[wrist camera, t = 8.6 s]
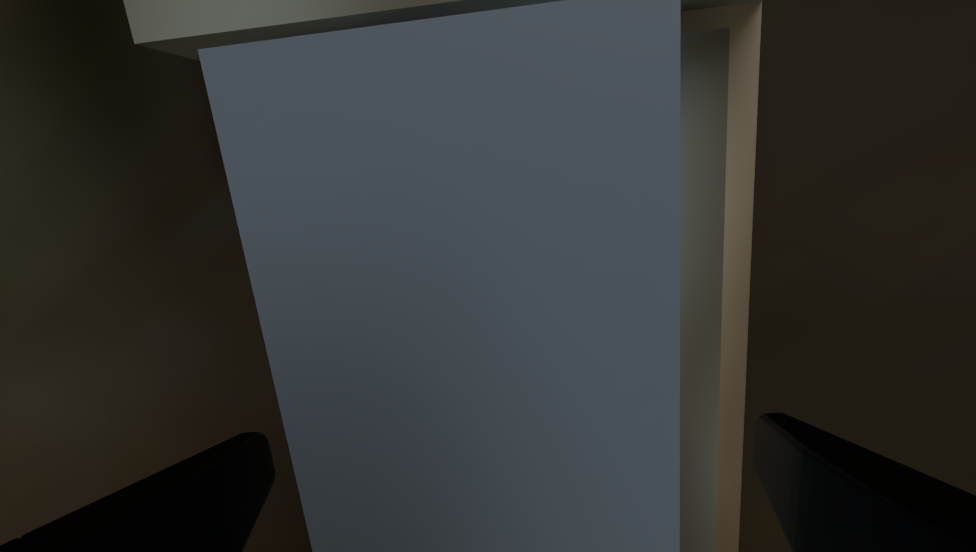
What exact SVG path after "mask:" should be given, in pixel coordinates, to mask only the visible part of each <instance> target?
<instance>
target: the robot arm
mask: <svg viewBox="0 0 976 552" xmlns="http://www.w3.org/2000/svg"><path fill="white" fill-rule="evenodd" d="M753 463H754V467H755V470H756V472H757V475H758V477H759V479H760V481H761V483H762V486H763V488H764V490H765V492H766V494H767V497H768V499H769V501H770V503H771V506H772V508H773V510H774V512H775V514H776V517H777V519H778V521H779V523H780V525H781V528H782V530H783V532H784V534H785V537H786V539H787V541H788V543H789V545H790V547H791V549H792V551H793V552H976V496H975V495H973V494H971V493H968V492H966V491H964V490H961V489H959V488H957V487H954V486H952V485H950V484H947V483H945V482H943V481H940V480H938V479H936V478H933V477H931V476H929V475H926V474H924V473H922V472H919V471H917V470H915V469H912V468H910V467H908V466H905V465H903V464H901V463H898V462H896V461H894V460H891V459H889V458H887V457H884V456H882V455H880V454H877V453H875V452H873V451H870V450H868V449H866V448H863V447H861V446H859V445H856V444H854V443H852V442H849V441H847V440H845V439H842V438H840V437H838V436H835V435H833V434H831V433H828V432H826V431H824V430H821V429H819V428H816V427H814V426H812V425H809V424H807V423H805V422H802V421H800V420H798V419H795V418H793V417H791V416H788V415H786V414H783V413H763V414H759V415H757V416H756V418H755V421H754V437H753ZM274 479H275V466H274V461H273V457H272V453H271V449H270V445H269V440H268V437H267V436H266V435H265V434H264V433H262V432H248V433H241V434H239V435H237V436H235V437H233V438H230V439H228V440H226V441H224V442H222V443H220V444H217V445H215V446H213V447H211V448H209V449H207V450H205V451H202V452H200V453H198V454H196V455H194V456H192V457H190V458H187V459H185V460H183V461H181V462H179V463H177V464H175V465H172V466H170V467H168V468H166V469H164V470H162V471H160V472H157V473H155V474H153V475H151V476H149V477H147V478H144V479H142V480H140V481H138V482H136V483H134V484H132V485H129V486H127V487H125V488H123V489H121V490H119V491H117V492H114V493H112V494H110V495H108V496H106V497H104V498H102V499H99V500H97V501H95V502H93V503H91V504H89V505H87V506H84V507H82V508H80V509H78V510H76V511H74V512H72V513H69V514H67V515H65V516H63V517H61V518H59V519H56V520H54V521H52V522H50V523H48V524H46V525H44V526H41V527H39V528H37V529H35V530H33V531H31V532H29V533H26V534H24V535H23V536H22V537H21V538H20V539H19V538H16V539H13V540H11V541H9V542H7V543H5V544H3V545H0V552H242V551H243V549H244V547H245V545H246V543H247V541H248V538H249V536H250V534H251V532H252V530H253V527H254V525H255V523H256V521H257V518H258V516H259V514H260V512H261V510H262V507H263V505H264V503H265V501H266V498H267V496H268V494H269V492H270V490H271V487H272V485H273V483H274Z"/></svg>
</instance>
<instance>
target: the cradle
mask: <svg viewBox="0 0 976 552" xmlns="http://www.w3.org/2000/svg"><path fill="white" fill-rule="evenodd" d="M123 1H124V5H125V9H126V13H127V17H128V21H129V25H130V29H131V33H132V37H133V40H134V44H137V45H141V46H145V47H148V48H152V49H156V50H160V51H164V52H167V53H171V54H175V55H179V56H183V57H187V58H190V59H194V60H198V61H200V58H199V54H198V49H204V48H212V47H219V46H227V45H234V44H242V43H249V42H257V41H264V40H272V39H279V38H287V37H294V36H302V35H309V34H316V33H324V32H331V31H339V30H346V29H354V28H361V27H369V26H376V25H384V24H391V23H399V22H406V21H414V20H421V19H429V18H436V17H444V16H451V15H459V14H466V13H473V12H481V11H488V10H496V9H503V8H511V7H518V6H526V5H533V4H541V3H548V2H556V1H563V0H123ZM762 1H763V0H681V49H680V552H738V548H739V524H740V501H741V478H742V454H743V431H744V408H745V384H746V361H747V338H748V314H749V291H750V268H751V244H752V221H753V198H754V174H755V151H756V127H757V104H758V81H759V57H760V34H761V11H762Z"/></svg>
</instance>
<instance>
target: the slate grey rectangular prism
mask: <svg viewBox="0 0 976 552" xmlns="http://www.w3.org/2000/svg"><path fill="white" fill-rule="evenodd" d="M680 49H681V0H563V1H556V2H548V3H541V4H533V5H526V6H518V7H511V8H503V9H496V10H488V11H481V12H473V13H466V14H459V15H451V16H444V17H436V18H429V19H421V20H414V21H406V22H399V23H391V24H384V25H376V26H369V27H361V28H354V29H346V30H339V31H331V32H324V33H316V34H309V35H302V36H294V37H287V38H279V39H272V40H264V41H257V42H249V43H242V44H234V45H227V46H219V47H212V48H204V49H198V54H199V58H200V62H201V67H202V71H203V75H204V80H205V84H206V89H207V93H208V97H209V102H210V106H211V110H212V115H213V119H214V123H215V128H216V132H217V137H218V141H219V145H220V150H221V154H222V158H223V163H224V167H225V171H226V176H227V180H228V185H229V189H230V193H231V198H232V202H233V206H234V211H235V215H236V219H237V224H238V228H239V233H240V237H241V241H242V246H243V250H244V254H245V259H246V263H247V267H248V272H249V276H250V281H251V285H252V289H253V294H254V298H255V302H256V307H257V311H258V315H259V320H260V324H261V329H262V333H263V337H264V342H265V346H266V350H267V355H268V359H269V363H270V368H271V372H272V377H273V381H274V385H275V390H276V394H277V398H278V403H279V407H280V411H281V416H282V420H283V425H284V429H285V433H286V438H287V442H288V446H289V451H290V455H291V460H292V464H293V468H294V473H295V477H296V481H297V486H298V490H299V494H300V499H301V503H302V508H303V512H304V516H305V521H306V525H307V529H308V534H309V538H310V542H311V547H312V551H313V552H680Z"/></svg>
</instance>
